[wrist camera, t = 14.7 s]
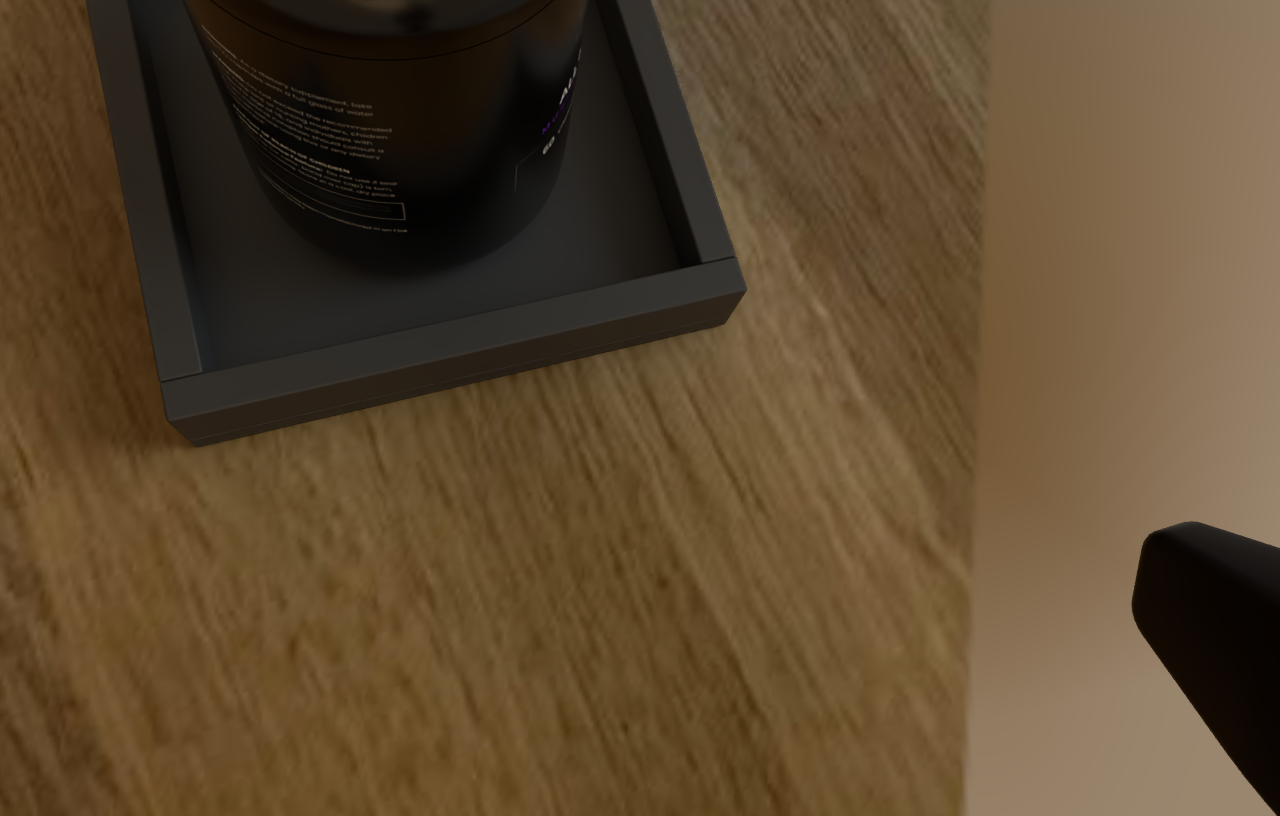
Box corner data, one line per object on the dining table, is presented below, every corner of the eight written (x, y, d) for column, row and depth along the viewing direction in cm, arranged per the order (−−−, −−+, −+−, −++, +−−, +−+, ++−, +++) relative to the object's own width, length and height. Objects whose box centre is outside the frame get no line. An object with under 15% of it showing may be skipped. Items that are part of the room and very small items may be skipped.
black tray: (725, 324, 24) (748, 290, 22) (195, 448, 21) (166, 422, 19) (588, -98, 26) (597, -164, 24) (100, -31, 24) (66, -98, 22)
